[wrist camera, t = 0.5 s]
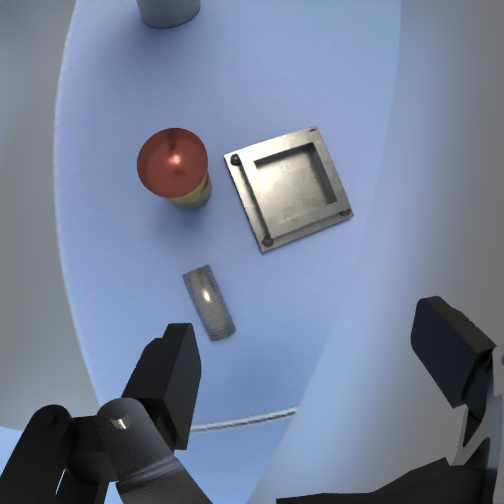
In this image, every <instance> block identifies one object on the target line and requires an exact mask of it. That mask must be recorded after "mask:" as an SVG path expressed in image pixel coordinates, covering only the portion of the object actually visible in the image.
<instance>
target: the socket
mask: <svg viewBox="0 0 504 504" xmlns="http://www.w3.org/2000/svg"><path fill="white" fill-rule="evenodd" d="M224 158H225V161H226V163H227V166H228V168H229V171H230V173H231V176H232V178H233V181H234V183H235V186H236V189H237V191H238V194H239V196H240V199H241V201H242V204H243V206H244V209H245V211H246V214H247V216H248V219H249V221H250V224H251V227H252V229H253V232H254V234H255V237H256V239H257V242H258V244H259V247H260V250H261V252H262V253H263V252H266V251H268V250H271V249H273V248H276V247H278V246H281V245H283V244H286V243H288V242H291V241H293V240H296V239H298V238H301V237H303V236H306V235H308V234H311V233H313V232H316V231H318V230H321V229H323V228H326V227H328V226H331V225H333V224H336V223H338V222H341V221H343V220H346V219H348V218H350V217H353V216H354V215H353V212H352V209H351V206H350V204H349V201H348V199H347V196H346V193H345V191H344V188H343V186H342V183H341V181H340V178H339V176H338V173H337V171H336V169H335V166H334V164H333V161H332V159H331V157H330V154H329V152H328V150H327V148H326V145H325V143H324V141H323V139H322V136H321V134H320V132H319V130H318V128H317V126H315V127H311V128H308V129H304V130H300V131H297V132H294V133H290V134H287V135H284V136H280V137H277V138H274V139H271V140H268V141H264V142H261V143H258V144H255V145H252V146H249V147H246V148H243V149H241V150H238V151H235V152H232V153H229V154H226V155H224Z"/></svg>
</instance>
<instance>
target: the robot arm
mask: <svg viewBox="0 0 504 504" xmlns="http://www.w3.org/2000/svg"><path fill="white" fill-rule="evenodd" d="M136 1H137V5H138V7H139V10H140V13H141V16H142V18H143V21H144V22H145V23H146V24H148V25H149V26H152V27H158V28H165V27H172V26H176V25H179V24H182V23H184V22H186V21H188V20H190V19H191V18H192V17H194V16H195V15H196V13H197V12H198V10H199V8H200V0H136ZM411 345H412V348H413V350H414V352H415V353H416V355H417V356H418V358H419V359H420V360H421V362H422V363H423V364H424V366H425V367H426V369H427V370H428V372H429V373H430V375H431V376H432V378H433V379H434V381H435V382H436V383H437V385H438V387H439V388H440V390H441V391H442V392H443V394H444V396H445V397H446V398H447V400H448V402H449V403H450V405H451V406H452V408H453V409H454V408H456V407H458V406H461V405H463V404H466V405H467V408H466V410H465V412H464V415H463V422H462V428H461V434H460V439H459V444H458V449H457V453H456V456H455V459H454V461H453V463H452V465H451V466H450V465H449V464H448V462H447V460H446V457H444V458H442V459H439V460H437V461H435V462H432V463H430V464H427V465H425V466H422V467H419V468H417V469H414V470H411V471H409V472H408V473H406V474H405V475H403V476H401V477H400V478H398V479H396V480H394V481H393V482H391V483H389V484H387V485H386V486H384V487H382V488H380V489H378V490H376V491H374V492H371V493H352V494H339V493H336V494H335V493H321V494H315V495H307V496H300V497H290V498H280V499H276V504H504V344H502V345H498V346H497V345H496V344H494V342H493V341H491V340H490V339H489V338H488V337H487V336H486V335H485V334H484V333H483V332H482V331H481V330H480V329H479V328H478V327H475V324H474V323H473V322H471V321H469V319H468V318H467V317H466V316H465V315H464V314H463V313H462V312H460V311H458V310H456V309H454V308H452V307H451V306H450V305H448V304H447V303H446V302H445V301H444V300H443V299H442V298H441V297H439V296H433V297H428V298H422V299H420V300H419V301H418V303H417V307H416V312H415V317H414V322H413V328H412V332H411ZM200 378H201V360H200V355H199V351H198V347H197V342H196V338H195V333H194V329H193V326H192V324H191V323H171V324H168V326H167V328H166V331H165V333H164V335H163V337H162V338H155V339H154V340H153V341H151V342H150V343H149V344H148V345H147V346H146V347H145V348H144V350H143V352H142V354H141V357H140V359H139V361H138V363H137V365H136V368H135V369H134V371H133V373H132V375H131V377H130V379H129V381H128V383H127V385H126V388H125V390H124V392H123V394H122V396H121V398H117V399H114V400H111V401H109V402H107V403H106V404H104V405H103V406H102V407H101V408H100V409H99V411H98V413H97V415H95V416H86V417H74V418H72V417H71V415H70V414H69V412H68V411H67V410H66V409H65V408H64V407H62V406H60V405H47V406H45V407H42V408H41V409H39V410H38V411H37V412H35V414H34V415H33V416H32V418H31V419H30V421H29V423H28V425H27V426H26V428H25V430H24V432H23V434H22V435H21V437H20V439H19V441H18V443H17V445H16V447H15V448H14V450H13V452H12V454H11V456H10V458H9V460H8V462H7V464H6V466H5V468H4V470H3V473H2V475H1V477H0V504H104V501H105V497H106V493H107V489H108V485H109V482H115V481H119V482H116V489H117V491H118V494H119V496H120V498H121V500H122V502H123V504H213V503H212V502H211V501H210V500H209V499H208V497H207V496H206V495H205V494H204V493H203V491H202V490H201V489H200V487H199V486H198V485H197V484H196V482H195V481H194V480H193V478H192V477H191V476H190V474H189V473H188V472H187V470H186V469H185V468H184V466H183V465H182V464H181V462H180V461H179V460H178V459H177V458H176V457H175V456H174V455H173V454H174V450H175V449H178V450H186V449H187V443H188V438H189V433H190V428H191V423H192V418H193V413H194V408H195V403H196V398H197V393H198V388H199V383H200ZM64 470H65V472H64V475H63V477H62V480H61V483H60V485H59V488H58V491H57V494H56V490H57V487H58V484H59V481H60V479H61V476H62V473H63V471H64Z"/></svg>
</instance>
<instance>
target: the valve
mask: <svg viewBox="0 0 504 504" xmlns="http://www.w3.org/2000/svg"><path fill="white" fill-rule="evenodd" d="M207 168H208V157H207V153H206V149H205V146H204V144H203V143H202V141H201V140H200V139H199V137H198V136H196V135H195V134H194V133H192V132H190V131H188V130H185V129H181V128H169V129H165V130H162V131H160V132H158V133H156V134H154V135H153V136H152V137H150V138H149V139H148V140H147V141H146V142H145V144H144V145H143V147H142V148H141V150H140V153H139V156H138V160H137V171H138V175H139V178H140V180H141V182H142V183H143V185H144V186H145V187H146V188H147V189H148V190H150V191H151V192H153V193H154V194H156V195H158V196H160V197H164V198H168V199H169V200H170V201H172V202H173V203H175V204H176V205H177V206H179V207H181V208H183V209H196V208H198V207H200V206H202V205H203V204H204V203H205V202H206V201H207V200H208V199H209V197H210V194H211V189H212V187H211V181H210V178H209V174H208V171H207Z"/></svg>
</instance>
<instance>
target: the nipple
mask: <svg viewBox="0 0 504 504" xmlns="http://www.w3.org/2000/svg"><path fill="white" fill-rule="evenodd" d="M182 276H183V278H184V281H185V283H186V286H187V288H188V290H189V293H190V295H191V297H192V300H193V302H194V304H195V307H196V309H197V311H198V314H199V316H200V318H201V320H202V323H203V325H204V327H205V329H206V332H207V334H208V336H209V338H210V340H211V341H217V340H221V339H224V338H226V337H228V336H230V335H231V334H233V333H234V332H235V331H236V328H235V326H234V324H233V321H232V319H231V317H230V314H229V312H228V310H227V307H226V305H225V303H224V300H223V298H222V295H221V293H220V291H219V288H218V286H217V283H216V281H215V279H214V276H213V274H212V271H211V269H210V266H209V265H205V266H203V267H200V268H198V269H195V270H192V271H190V272H188V273H186V274H184V275H182Z"/></svg>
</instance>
